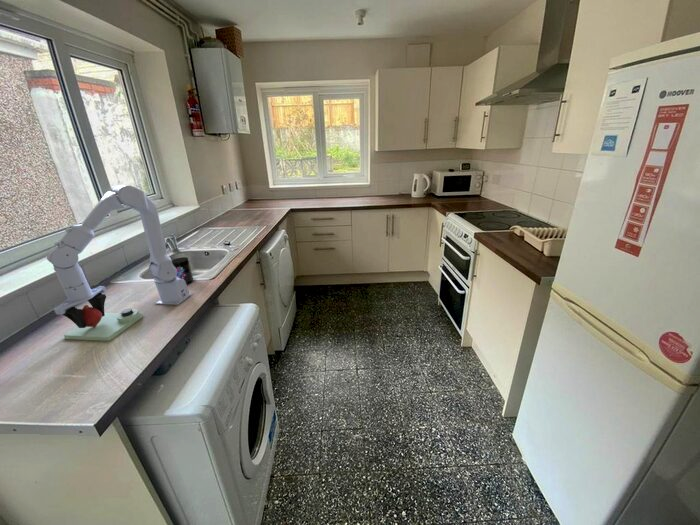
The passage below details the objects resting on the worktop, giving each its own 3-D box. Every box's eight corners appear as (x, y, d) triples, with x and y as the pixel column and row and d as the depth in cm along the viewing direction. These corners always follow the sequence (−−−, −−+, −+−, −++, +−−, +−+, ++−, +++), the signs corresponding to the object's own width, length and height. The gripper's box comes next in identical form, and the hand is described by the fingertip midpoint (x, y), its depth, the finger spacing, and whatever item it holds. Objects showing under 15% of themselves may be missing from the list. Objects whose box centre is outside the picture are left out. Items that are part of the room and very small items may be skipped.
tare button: (135, 312, 99) (133, 308, 98) (127, 317, 96) (126, 313, 95) (127, 312, 99) (125, 308, 98) (120, 317, 96) (118, 313, 96)
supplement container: (175, 282, 126) (168, 260, 122) (191, 277, 130) (185, 256, 126) (179, 287, 122) (172, 264, 118) (196, 281, 126) (190, 259, 122)
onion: (92, 332, 91) (82, 311, 88) (78, 331, 92) (67, 309, 89) (110, 322, 96) (100, 301, 93) (96, 320, 97) (86, 300, 94)
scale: (144, 316, 101) (141, 309, 100) (110, 341, 88) (107, 333, 87) (104, 315, 103) (100, 308, 102) (65, 338, 91) (61, 331, 90)
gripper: (86, 274, 95) (102, 309, 100) (37, 295, 82) (58, 334, 87) (105, 274, 94) (119, 309, 99) (58, 296, 81) (78, 335, 86)
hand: (92, 321), depth 93 cm, fingers closed on onion, 6 cm apart
